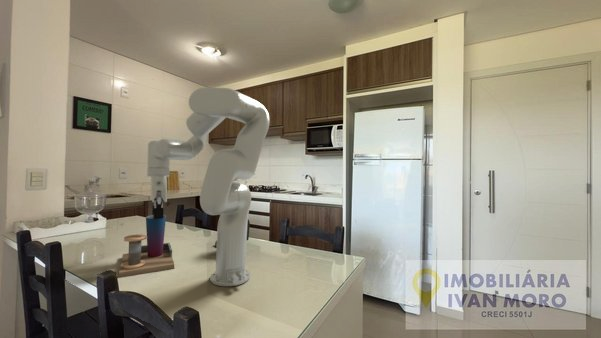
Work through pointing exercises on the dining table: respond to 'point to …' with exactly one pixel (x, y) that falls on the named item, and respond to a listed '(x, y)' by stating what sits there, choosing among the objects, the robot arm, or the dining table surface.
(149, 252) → the cup
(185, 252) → the dining table surface
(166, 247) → the board
